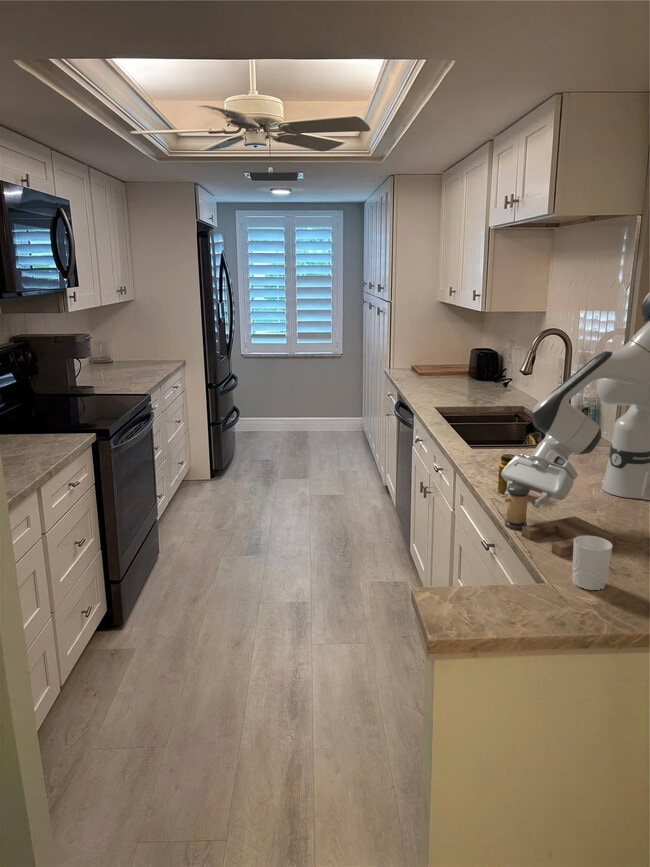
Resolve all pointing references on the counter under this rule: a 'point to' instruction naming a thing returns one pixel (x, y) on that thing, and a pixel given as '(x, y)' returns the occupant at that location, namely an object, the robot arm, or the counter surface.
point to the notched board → (566, 533)
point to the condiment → (501, 482)
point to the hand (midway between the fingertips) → (520, 501)
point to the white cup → (591, 562)
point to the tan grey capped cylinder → (516, 506)
